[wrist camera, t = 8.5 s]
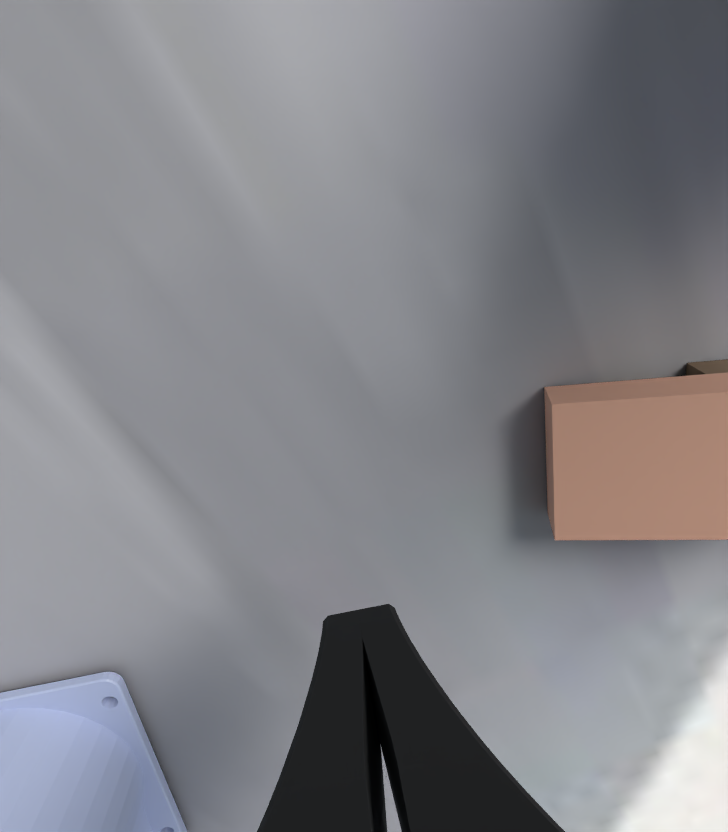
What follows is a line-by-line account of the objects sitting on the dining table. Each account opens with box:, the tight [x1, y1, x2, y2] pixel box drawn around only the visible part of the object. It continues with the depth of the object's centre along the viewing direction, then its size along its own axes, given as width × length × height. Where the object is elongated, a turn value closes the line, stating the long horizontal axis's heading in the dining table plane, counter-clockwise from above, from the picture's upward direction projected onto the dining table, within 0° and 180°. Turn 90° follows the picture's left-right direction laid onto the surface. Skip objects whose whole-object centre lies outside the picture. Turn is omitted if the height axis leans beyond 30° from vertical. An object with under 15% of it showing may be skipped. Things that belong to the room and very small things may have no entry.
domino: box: [544, 372, 728, 540], centre depth 14 cm, size 5×2×8 cm
